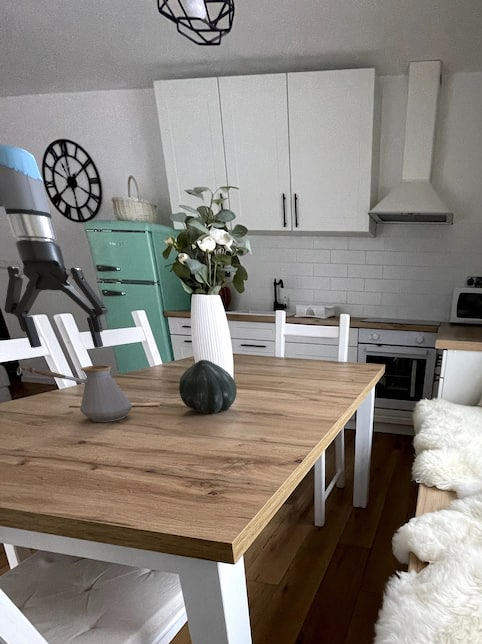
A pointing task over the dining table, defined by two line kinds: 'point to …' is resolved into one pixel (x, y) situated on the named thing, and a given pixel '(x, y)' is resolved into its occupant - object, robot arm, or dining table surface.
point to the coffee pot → (96, 393)
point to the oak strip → (131, 403)
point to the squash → (207, 387)
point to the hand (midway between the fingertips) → (68, 347)
